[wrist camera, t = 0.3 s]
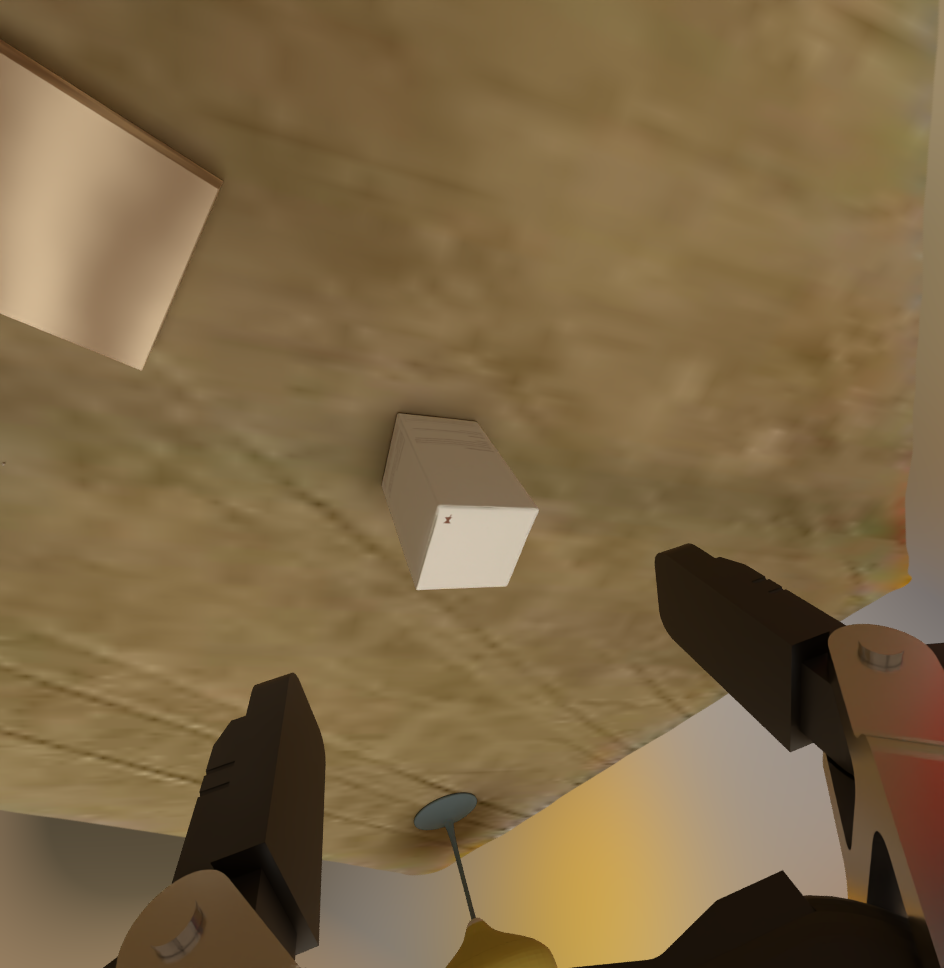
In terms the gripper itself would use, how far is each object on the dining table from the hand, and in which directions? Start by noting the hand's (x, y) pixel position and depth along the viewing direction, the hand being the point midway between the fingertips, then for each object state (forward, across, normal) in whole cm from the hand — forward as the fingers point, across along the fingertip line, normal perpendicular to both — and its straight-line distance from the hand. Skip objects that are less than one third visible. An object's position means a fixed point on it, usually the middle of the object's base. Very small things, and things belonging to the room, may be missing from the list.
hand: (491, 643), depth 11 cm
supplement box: (+33, -3, +5) cm, 34 cm away
